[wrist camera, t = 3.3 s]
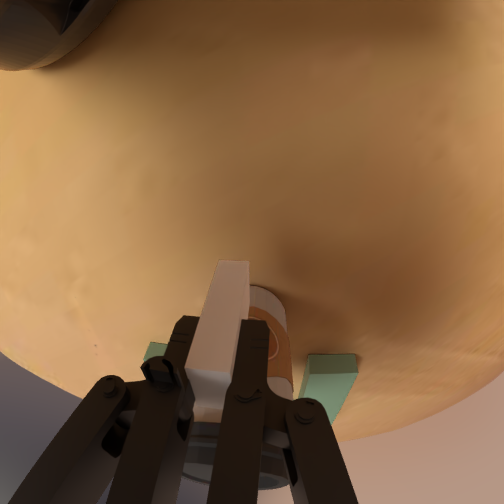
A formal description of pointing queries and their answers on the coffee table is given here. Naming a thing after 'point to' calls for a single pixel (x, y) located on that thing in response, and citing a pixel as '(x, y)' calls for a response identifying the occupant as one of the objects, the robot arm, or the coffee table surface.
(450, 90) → the coffee table surface
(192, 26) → the coffee table surface
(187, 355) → the robot arm
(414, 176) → the coffee table surface
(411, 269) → the coffee table surface
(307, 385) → the mint green u-shaped piece
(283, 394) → the coffee cup
